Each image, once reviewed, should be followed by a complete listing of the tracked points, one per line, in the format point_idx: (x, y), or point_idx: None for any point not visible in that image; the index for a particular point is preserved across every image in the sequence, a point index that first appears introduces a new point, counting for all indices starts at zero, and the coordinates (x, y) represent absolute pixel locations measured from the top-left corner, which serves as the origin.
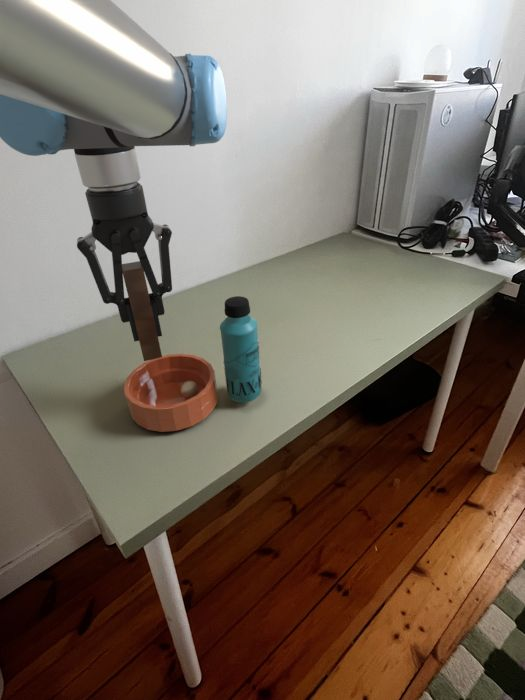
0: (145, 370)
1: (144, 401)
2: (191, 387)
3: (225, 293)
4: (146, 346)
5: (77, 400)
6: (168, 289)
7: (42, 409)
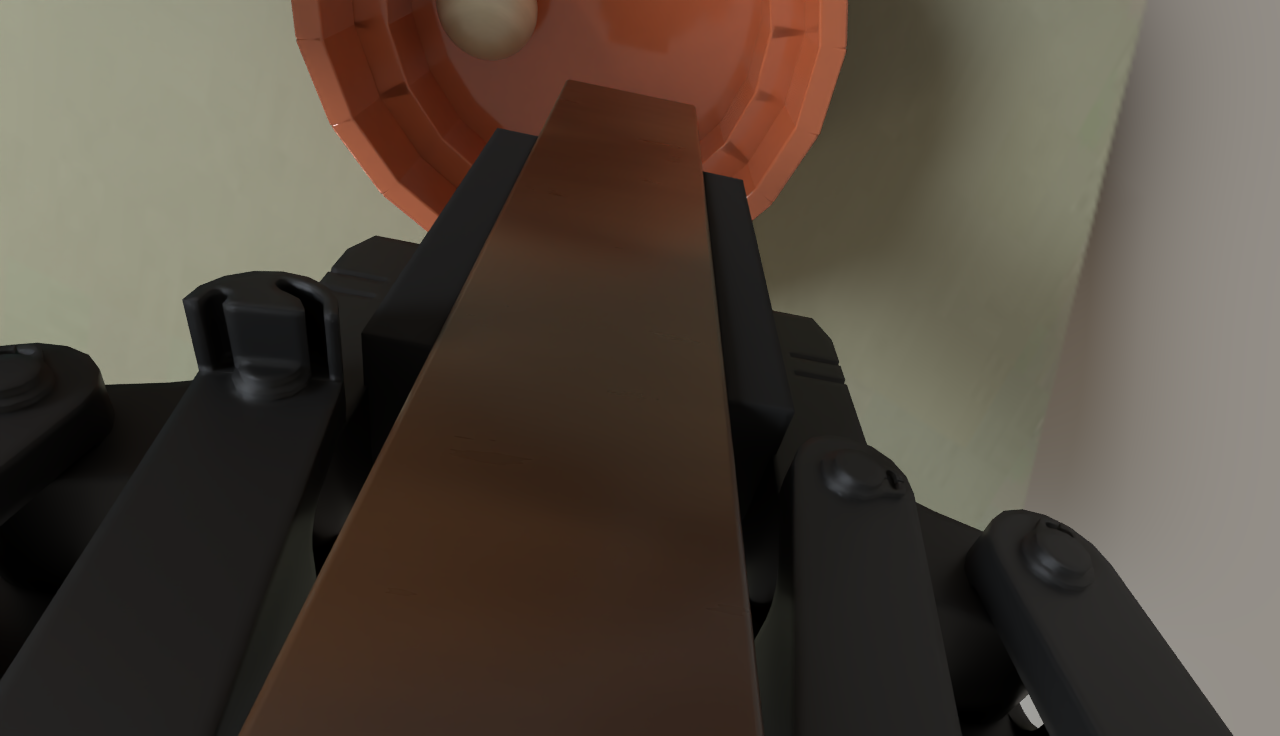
0: None
1: (715, 105)
2: None
3: None
4: (655, 133)
5: (931, 304)
6: (4, 366)
7: (1059, 326)
